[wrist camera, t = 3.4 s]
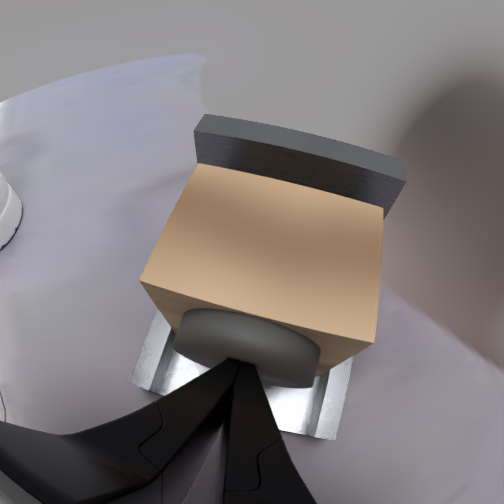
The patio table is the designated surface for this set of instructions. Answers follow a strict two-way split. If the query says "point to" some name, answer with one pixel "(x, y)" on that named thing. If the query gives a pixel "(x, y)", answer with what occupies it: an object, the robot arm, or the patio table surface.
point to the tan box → (267, 275)
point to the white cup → (2, 411)
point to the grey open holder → (298, 172)
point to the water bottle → (8, 211)
